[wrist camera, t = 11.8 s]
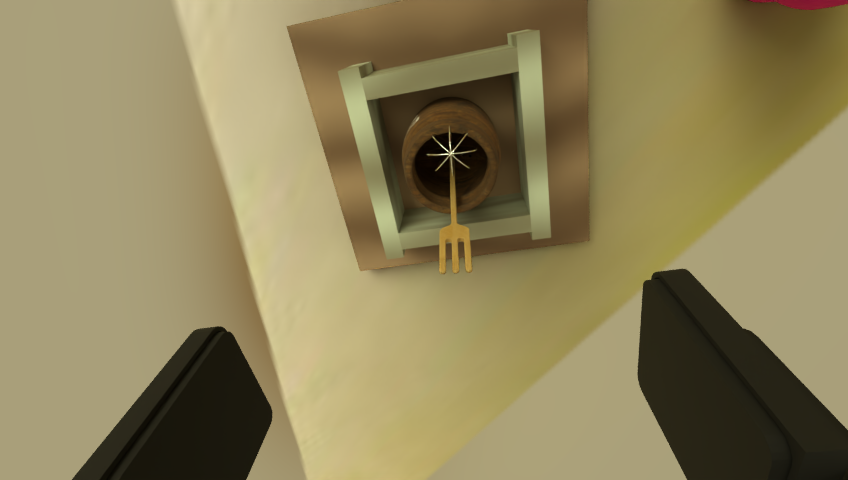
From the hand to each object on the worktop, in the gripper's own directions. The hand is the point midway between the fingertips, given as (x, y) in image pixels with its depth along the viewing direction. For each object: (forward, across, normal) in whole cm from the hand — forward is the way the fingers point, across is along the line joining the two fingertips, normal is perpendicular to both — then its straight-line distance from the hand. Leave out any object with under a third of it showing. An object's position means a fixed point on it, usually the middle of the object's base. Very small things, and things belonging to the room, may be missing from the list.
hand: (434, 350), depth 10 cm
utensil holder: (+21, 0, +1) cm, 21 cm away
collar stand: (+23, 0, +1) cm, 23 cm away
